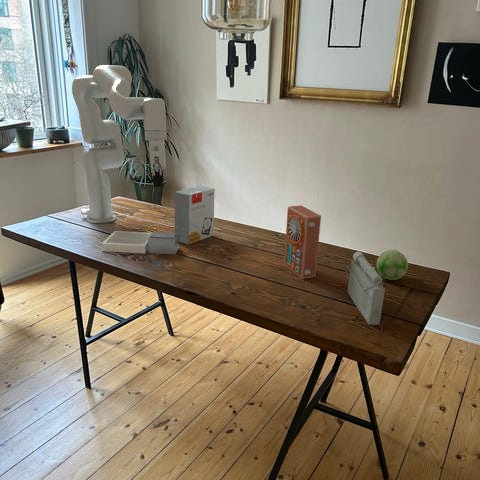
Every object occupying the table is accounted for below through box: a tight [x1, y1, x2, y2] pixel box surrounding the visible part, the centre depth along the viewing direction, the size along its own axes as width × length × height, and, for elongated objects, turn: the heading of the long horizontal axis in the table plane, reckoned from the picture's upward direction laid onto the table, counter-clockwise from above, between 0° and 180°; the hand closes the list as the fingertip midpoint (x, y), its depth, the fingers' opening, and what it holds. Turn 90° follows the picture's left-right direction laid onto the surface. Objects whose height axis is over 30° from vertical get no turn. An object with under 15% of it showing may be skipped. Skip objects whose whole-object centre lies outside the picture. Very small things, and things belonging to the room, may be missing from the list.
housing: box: [147, 231, 180, 255], centre depth 168 cm, size 10×6×6 cm, turn 85°
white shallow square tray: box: [101, 230, 152, 255], centre depth 172 cm, size 16×14×3 cm
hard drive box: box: [173, 185, 215, 246], centre depth 179 cm, size 16×8×20 cm, turn 143°
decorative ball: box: [376, 249, 409, 281], centre depth 150 cm, size 10×10×10 cm
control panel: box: [283, 205, 322, 280], centre depth 152 cm, size 21×7×15 cm
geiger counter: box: [345, 251, 386, 326], centre depth 132 cm, size 14×6×25 cm
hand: (158, 183), depth 164 cm, fingers open, 9 cm apart
